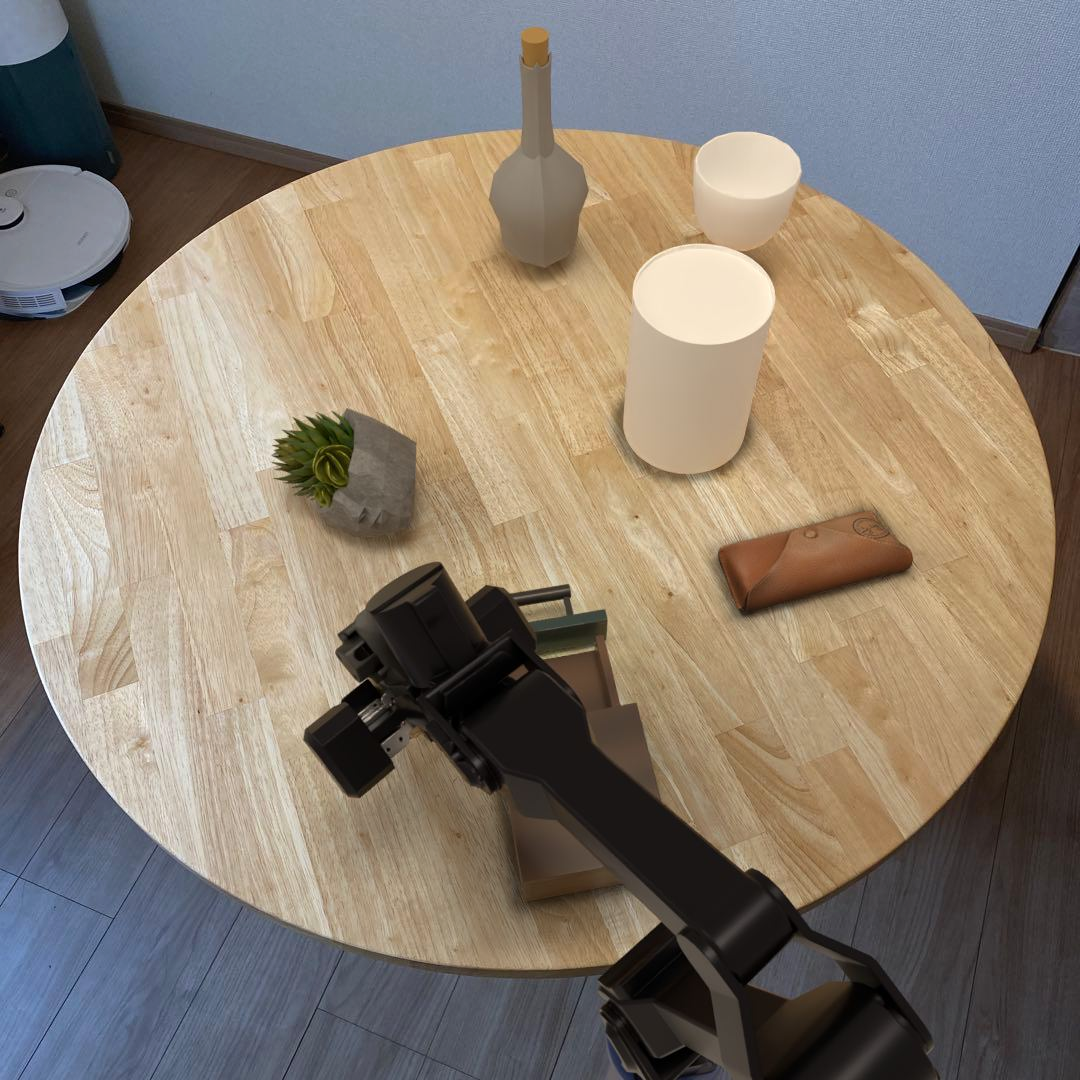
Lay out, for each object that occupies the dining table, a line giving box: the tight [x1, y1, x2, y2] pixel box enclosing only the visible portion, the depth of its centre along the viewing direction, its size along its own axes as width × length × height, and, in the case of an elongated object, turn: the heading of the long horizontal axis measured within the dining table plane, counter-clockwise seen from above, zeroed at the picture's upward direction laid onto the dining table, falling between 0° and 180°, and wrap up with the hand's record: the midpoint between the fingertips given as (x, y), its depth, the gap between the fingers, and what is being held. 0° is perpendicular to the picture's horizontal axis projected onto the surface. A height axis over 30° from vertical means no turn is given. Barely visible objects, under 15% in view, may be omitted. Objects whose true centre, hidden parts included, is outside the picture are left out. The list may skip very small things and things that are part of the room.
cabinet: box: [507, 702, 662, 903], centre depth 91 cm, size 14×13×6 cm
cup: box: [692, 131, 803, 252], centre depth 122 cm, size 12×12×17 cm
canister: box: [622, 243, 776, 475], centre depth 108 cm, size 14×14×20 cm
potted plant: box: [270, 407, 417, 538], centre depth 107 cm, size 12×13×15 cm
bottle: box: [488, 26, 590, 269], centre depth 119 cm, size 11×11×30 cm
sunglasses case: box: [717, 510, 914, 615], centre depth 105 cm, size 18×7×7 cm, turn 107°
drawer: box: [509, 583, 621, 711], centre depth 97 cm, size 17×11×4 cm
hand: (389, 671), depth 86 cm, fingers closed on sprinkles bottle, 4 cm apart
